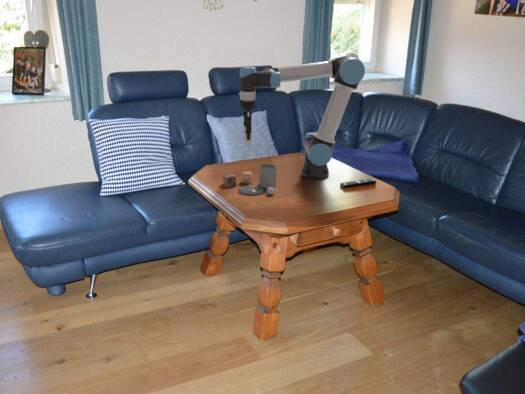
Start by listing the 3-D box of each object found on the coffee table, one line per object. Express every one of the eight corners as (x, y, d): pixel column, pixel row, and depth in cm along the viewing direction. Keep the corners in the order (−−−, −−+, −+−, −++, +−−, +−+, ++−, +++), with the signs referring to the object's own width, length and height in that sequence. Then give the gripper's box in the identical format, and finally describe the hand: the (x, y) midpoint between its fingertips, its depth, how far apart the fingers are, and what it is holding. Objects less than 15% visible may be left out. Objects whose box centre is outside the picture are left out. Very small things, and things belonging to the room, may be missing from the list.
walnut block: (232, 183, 261) (232, 173, 259) (236, 186, 256) (236, 176, 255) (223, 184, 259) (223, 174, 257) (226, 187, 254) (226, 177, 253)
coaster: (262, 186, 255) (262, 185, 255) (264, 195, 244) (264, 193, 244) (238, 187, 254) (238, 185, 254) (239, 195, 243) (239, 194, 243)
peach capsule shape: (251, 180, 265) (251, 171, 263) (252, 183, 260) (252, 174, 258) (241, 180, 264) (241, 171, 262) (242, 183, 259) (242, 174, 258)
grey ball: (273, 193, 247) (274, 185, 246) (274, 195, 244) (275, 188, 243) (266, 193, 247) (266, 186, 246) (267, 195, 243) (267, 188, 242)
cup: (274, 188, 254) (274, 169, 250) (257, 187, 255) (258, 167, 252) (277, 183, 261) (277, 164, 258) (261, 181, 263) (261, 163, 260)
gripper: (238, 95, 259) (238, 136, 266) (241, 104, 236) (241, 149, 243) (253, 95, 260) (252, 136, 267) (257, 104, 236) (257, 148, 244)
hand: (247, 142), depth 255 cm, fingers open, 13 cm apart
